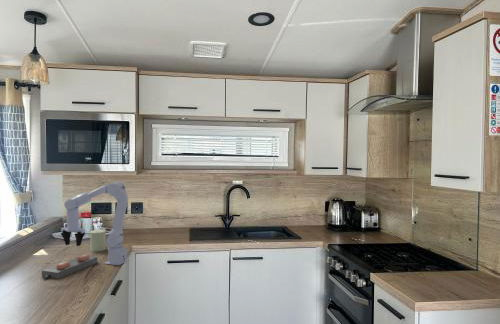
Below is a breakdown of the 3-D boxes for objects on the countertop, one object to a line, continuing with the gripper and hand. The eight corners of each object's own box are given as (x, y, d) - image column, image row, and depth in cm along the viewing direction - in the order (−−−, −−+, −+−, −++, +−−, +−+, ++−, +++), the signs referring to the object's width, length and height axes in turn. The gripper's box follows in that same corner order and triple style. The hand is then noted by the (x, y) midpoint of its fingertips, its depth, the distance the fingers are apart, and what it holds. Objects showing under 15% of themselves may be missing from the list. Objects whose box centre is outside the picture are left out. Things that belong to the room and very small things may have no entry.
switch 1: (69, 265, 174) (69, 261, 174) (61, 268, 169) (61, 264, 169) (64, 265, 175) (64, 261, 175) (56, 268, 170) (56, 264, 170)
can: (88, 252, 209) (88, 232, 209) (91, 248, 218) (91, 229, 218) (104, 251, 212) (104, 231, 212) (107, 247, 221) (106, 228, 220)
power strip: (97, 262, 189) (97, 257, 189) (52, 281, 162) (52, 274, 162) (83, 260, 192) (82, 255, 192) (36, 278, 165) (36, 272, 165)
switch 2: (89, 258, 186) (89, 254, 186) (81, 261, 181) (81, 257, 181) (84, 257, 187) (84, 254, 187) (77, 260, 182) (77, 256, 182)
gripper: (56, 221, 187) (56, 246, 187) (77, 222, 183) (78, 248, 183) (66, 218, 194) (67, 242, 194) (87, 220, 189) (88, 244, 190)
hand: (73, 245), depth 189 cm, fingers open, 7 cm apart
